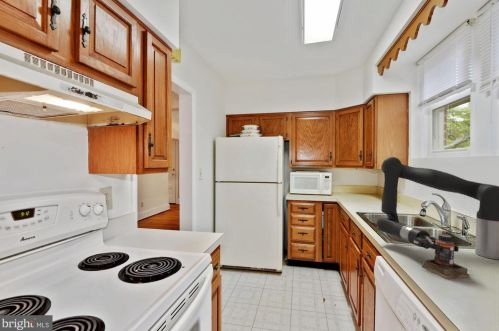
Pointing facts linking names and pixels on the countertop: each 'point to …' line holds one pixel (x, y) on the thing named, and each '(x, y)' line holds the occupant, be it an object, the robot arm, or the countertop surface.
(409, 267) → the countertop surface
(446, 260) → the supplement bottle
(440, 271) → the square wooden tray
